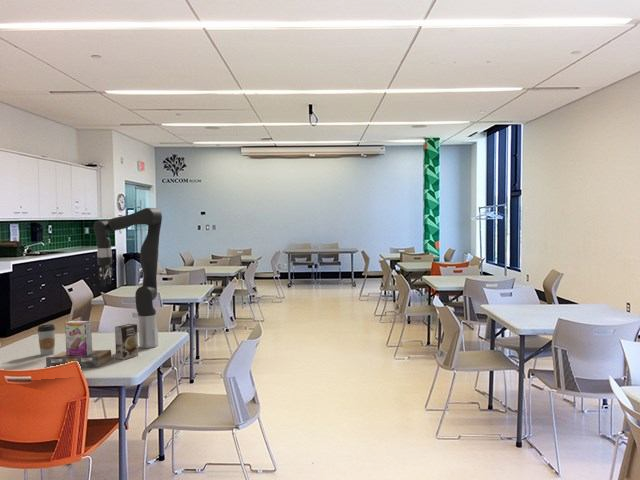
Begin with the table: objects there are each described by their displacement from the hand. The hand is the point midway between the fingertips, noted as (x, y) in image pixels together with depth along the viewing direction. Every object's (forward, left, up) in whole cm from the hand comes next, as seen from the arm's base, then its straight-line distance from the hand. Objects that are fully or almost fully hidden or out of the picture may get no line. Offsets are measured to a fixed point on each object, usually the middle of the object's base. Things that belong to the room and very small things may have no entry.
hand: (106, 285), depth 299 cm
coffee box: (-21, +32, -33) cm, 51 cm away
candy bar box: (-1, +41, -29) cm, 50 cm away
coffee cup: (+25, +19, -33) cm, 46 cm away
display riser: (-1, +40, -33) cm, 52 cm away
